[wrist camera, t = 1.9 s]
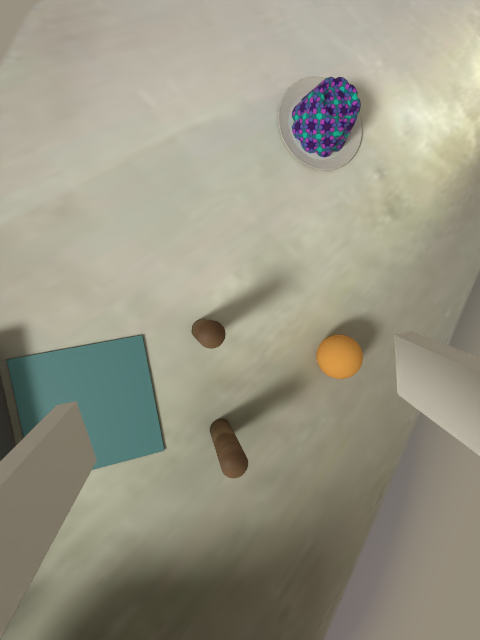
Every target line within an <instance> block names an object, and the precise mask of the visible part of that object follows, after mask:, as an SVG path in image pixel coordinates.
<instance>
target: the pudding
mask: <svg viewBox="0 0 480 640" xmlns="http://www.w3.org/2000/svg"><path fill="white" fill-rule="evenodd" d="M307 92H309V93H308V94H307V95H306V96H305V97H304V98H303V99H302V101H301V102H300V103H299V104H298V105H296V106H295V108H294V110H293V112H292V117H293V120H294V124H293V126H292V131H293V134H294V136H295V138H297V139H298V140H300V141H301V145H302V148H303V149H304V150H305V151H307V152H309V153H314V152H316V153H317V154H318V155H319V156H321V157H327V156H330V154H331V152H332V151H337V152H338V151H339V150H340V149H342V147H343V145H344V143H345V141H346V139H347V137H348V135H349V133H350V138H349V142H348V144H347V146H346V148H345V149H344V151H343V152H342V153H341V154H340V155H338V156H337V157H335V158H332V159H329V160H318V159H314V158H311V157H309V156H308V155H306V154H304V153H303V152H302V151H301V150H300V149H299V148H298V147H297V146H296V144H295V143H294V141H293V139H292V137H291V134H290V131H289V126H288V116H289V112H290V108H291V106H292V104H293V103H294V101H295V100H296V99H297V98H298V97H299V96H301V95H302V94H304V93H307ZM357 93H358V92H357V90H356V88H355V87H354V86H353V85H351V84H349V83H348V81H347V80H346V79H344V78H343V77H338V78H336V79H335V78H333V77H329V78H326V79H325V78H322V77H307V78H304V79H301V80H299V81H297V82H295V83H294V84H293V85H292V86H290V87H289V88H288V90H287V91H286V92H285V94H284V96H283V98H282V100H281V102H280V106H279V112H278V123H279V129H280V133H281V136H282V138H283V141H284V143H285V145H286V146H287V148H288V150H289V151H290V152H291V153H292V154H293V155H294V156H295V157H296V158H297V159H298V160H299V161H300V162H302V163H303V164H305V165H307V166H309V167H312V168H314V169H319V170H332V169H337V168H339V167H342V166H343V165H345V164H346V163H348V162H349V161H350V160H351V159H352V158H353V156H354V155H355V154H356V152H357V150H358V148H359V145H360V142H361V138H362V122H361V117H360V113H359V111H360V106H361V104H360V100H359V98H358V97H357Z"/></svg>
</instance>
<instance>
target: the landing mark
mask: <svg viewBox="0 0 480 640" xmlns="http://www.w3.org/2000/svg"><path fill="white" fill-rule="evenodd" d="M7 363H8V368H9V372H10V377H11V381H12V386H13V391H14V395H15V400H16V404H17V409H18V414H19V418H20V423H21V427H22V432H23V437H25V436H26V435H27V434H28V433H29V432H30V431H31V430H32V429H33V428H34V427H35V426H36V425H37V424H38V423H39V422H40V421H41V420H42V419H43V418H44V417H45V416H46V415H47V414H48V413H49V412H50V411H51V410H52V409H53V408H54V407H55V406H56V405H59V404H64V403H69V402H74V401H77V404H78V407H79V410H80V413H81V416H82V419H83V422H84V424H85V427H86V430H87V433H88V436H89V439H90V442H91V445H92V448H93V451H94V454H95V457H96V459H97V461H96V463H95V465H94V466H93V468H92V470H93V469H97V468H101V467H105V466H108V465H112V464H116V463H120V462H123V461H127V460H131V459H135V458H138V457H142V456H146V455H150V454H153V453H157V452H161V451H164V445H163V440H162V435H161V430H160V424H159V419H158V414H157V409H156V404H155V398H154V393H153V388H152V383H151V378H150V372H149V367H148V362H147V357H146V351H145V346H144V341H143V336H142V335H140V336H134V337H129V338H123V339H118V340H112V341H107V342H101V343H96V344H91V345H85V346H80V347H74V348H69V349H63V350H58V351H52V352H47V353H41V354H36V355H31V356H25V357H20V358H14V359H9V360H7Z"/></svg>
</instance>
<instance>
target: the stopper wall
mask: <svg viewBox="0 0 480 640" xmlns="http://www.w3.org/2000/svg"><path fill="white" fill-rule="evenodd" d="M15 446H16V445H15V440H14V435H13V431H12V426H11V422H10V417H9V413H8V408H7V404H6V399H5V394H4V390H3V385H2V381H1V376H0V461H1V460H2V459H3V458H4V457H5V456H6V455H7V454H8V453H9V452H10V451H11V450H12V449H13V448H14V447H15Z"/></svg>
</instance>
